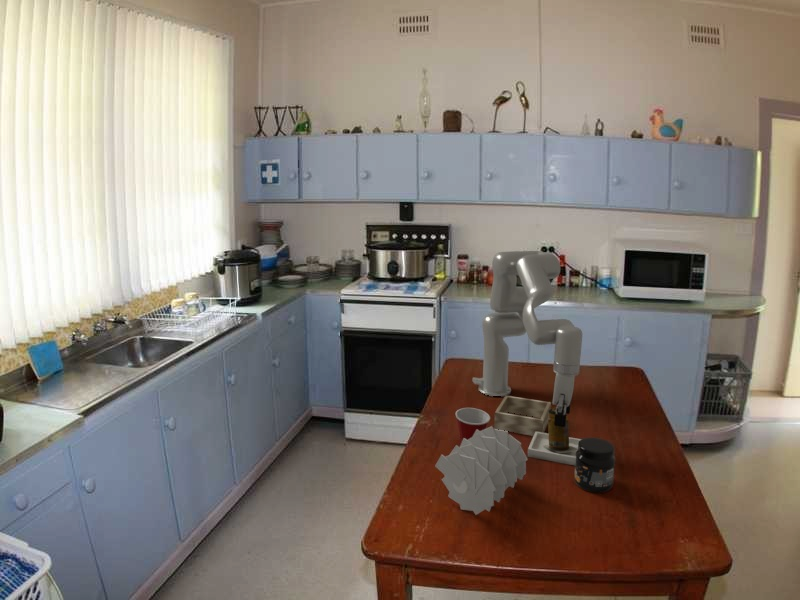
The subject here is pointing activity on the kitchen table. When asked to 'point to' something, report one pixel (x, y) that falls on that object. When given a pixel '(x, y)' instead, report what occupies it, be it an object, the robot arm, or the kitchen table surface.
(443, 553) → the kitchen table surface
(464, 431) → the plastic cup
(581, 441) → the supplement container
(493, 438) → the spiral staircase
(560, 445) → the condiment
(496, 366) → the robot arm
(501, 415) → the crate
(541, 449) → the tray
